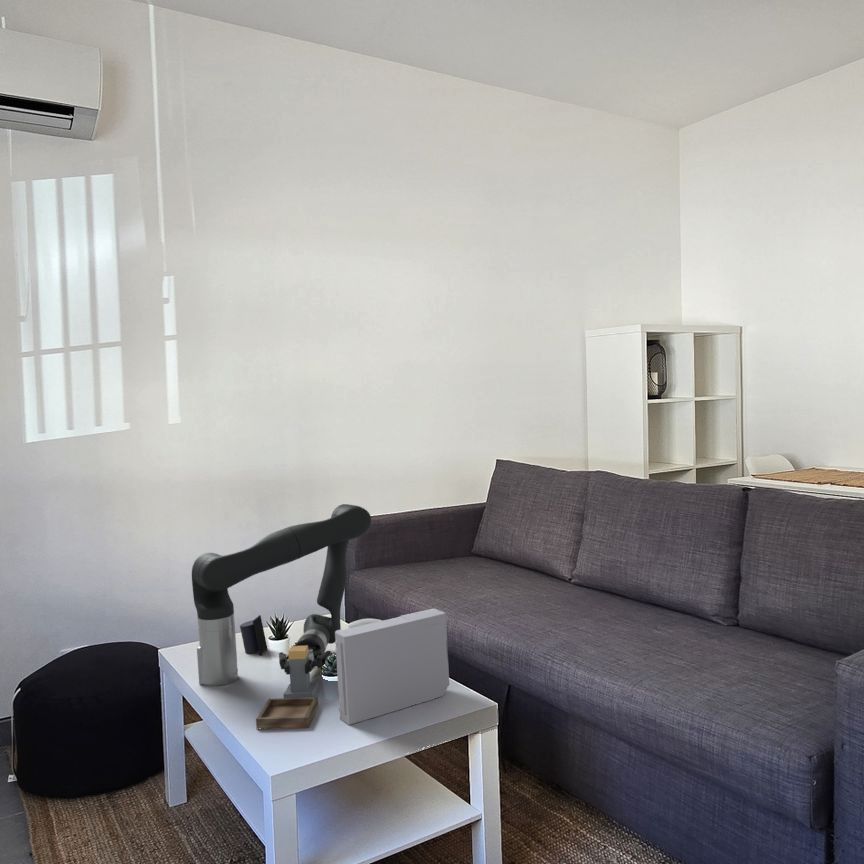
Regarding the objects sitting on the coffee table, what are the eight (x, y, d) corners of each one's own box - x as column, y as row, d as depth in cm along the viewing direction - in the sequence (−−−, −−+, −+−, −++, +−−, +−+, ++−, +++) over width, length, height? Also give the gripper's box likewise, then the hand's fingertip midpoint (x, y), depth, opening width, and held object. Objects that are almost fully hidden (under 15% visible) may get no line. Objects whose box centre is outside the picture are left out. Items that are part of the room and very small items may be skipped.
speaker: (274, 648, 230) (267, 614, 230) (260, 656, 225) (254, 620, 225) (254, 648, 234) (248, 614, 234) (241, 655, 229) (234, 620, 229)
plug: (283, 700, 191) (280, 653, 191) (290, 689, 198) (287, 644, 198) (312, 699, 191) (309, 652, 190) (317, 688, 198) (315, 643, 197)
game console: (336, 717, 179) (331, 631, 178) (436, 687, 194) (432, 608, 193) (348, 725, 175) (343, 637, 174) (449, 694, 189) (445, 612, 188)
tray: (256, 729, 175) (255, 719, 175) (269, 708, 187) (268, 698, 186) (308, 727, 174) (307, 717, 174) (318, 706, 186) (317, 697, 186)
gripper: (283, 634, 208) (267, 656, 191) (336, 632, 208) (325, 653, 191) (284, 662, 209) (268, 686, 192) (338, 660, 208) (327, 684, 191)
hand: (297, 670), depth 191 cm, fingers closed on plug, 4 cm apart
